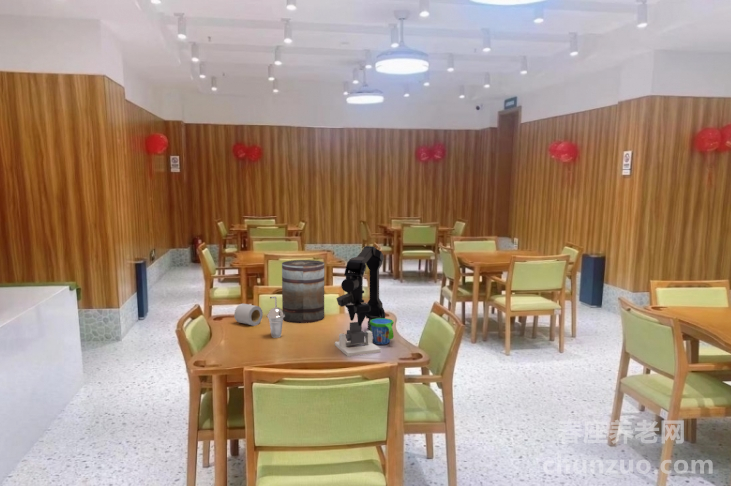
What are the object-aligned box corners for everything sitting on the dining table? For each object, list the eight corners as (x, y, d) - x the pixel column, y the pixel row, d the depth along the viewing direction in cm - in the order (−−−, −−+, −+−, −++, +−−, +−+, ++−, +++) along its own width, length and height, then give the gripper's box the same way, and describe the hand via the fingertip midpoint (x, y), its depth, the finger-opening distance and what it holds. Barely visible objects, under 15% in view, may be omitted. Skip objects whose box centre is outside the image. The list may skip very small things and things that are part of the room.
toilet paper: (262, 323, 256) (262, 304, 255) (248, 327, 248) (248, 308, 247) (248, 320, 262) (248, 301, 261) (234, 324, 253) (234, 305, 252)
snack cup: (363, 339, 230) (363, 317, 229) (383, 336, 235) (383, 315, 234) (379, 349, 216) (379, 326, 215) (400, 345, 221) (400, 323, 220)
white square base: (365, 341, 227) (365, 327, 226) (380, 352, 212) (380, 337, 211) (334, 345, 221) (334, 330, 220) (347, 356, 206) (348, 341, 205)
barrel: (323, 312, 280) (323, 259, 277) (325, 322, 258) (325, 266, 255) (283, 313, 278) (282, 260, 274) (281, 323, 255) (280, 266, 252)
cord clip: (359, 338, 222) (359, 320, 221) (364, 342, 216) (364, 323, 215) (346, 340, 219) (346, 321, 218) (351, 344, 214) (351, 324, 213)
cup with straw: (289, 336, 234) (288, 294, 231) (273, 340, 227) (272, 297, 225) (278, 332, 239) (277, 292, 237) (262, 336, 233) (261, 294, 231)
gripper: (331, 285, 220) (331, 319, 222) (346, 293, 203) (346, 330, 205) (354, 283, 225) (354, 317, 226) (371, 291, 208) (370, 327, 209)
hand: (355, 323), depth 217 cm, fingers open, 9 cm apart
